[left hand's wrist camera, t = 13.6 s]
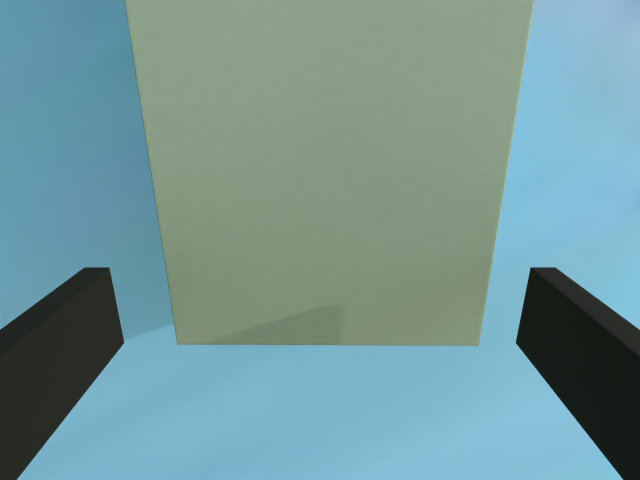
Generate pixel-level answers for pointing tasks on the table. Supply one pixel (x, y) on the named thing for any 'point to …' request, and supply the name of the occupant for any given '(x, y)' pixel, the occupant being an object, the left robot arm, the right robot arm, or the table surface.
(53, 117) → the table surface
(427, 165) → the cabinet
